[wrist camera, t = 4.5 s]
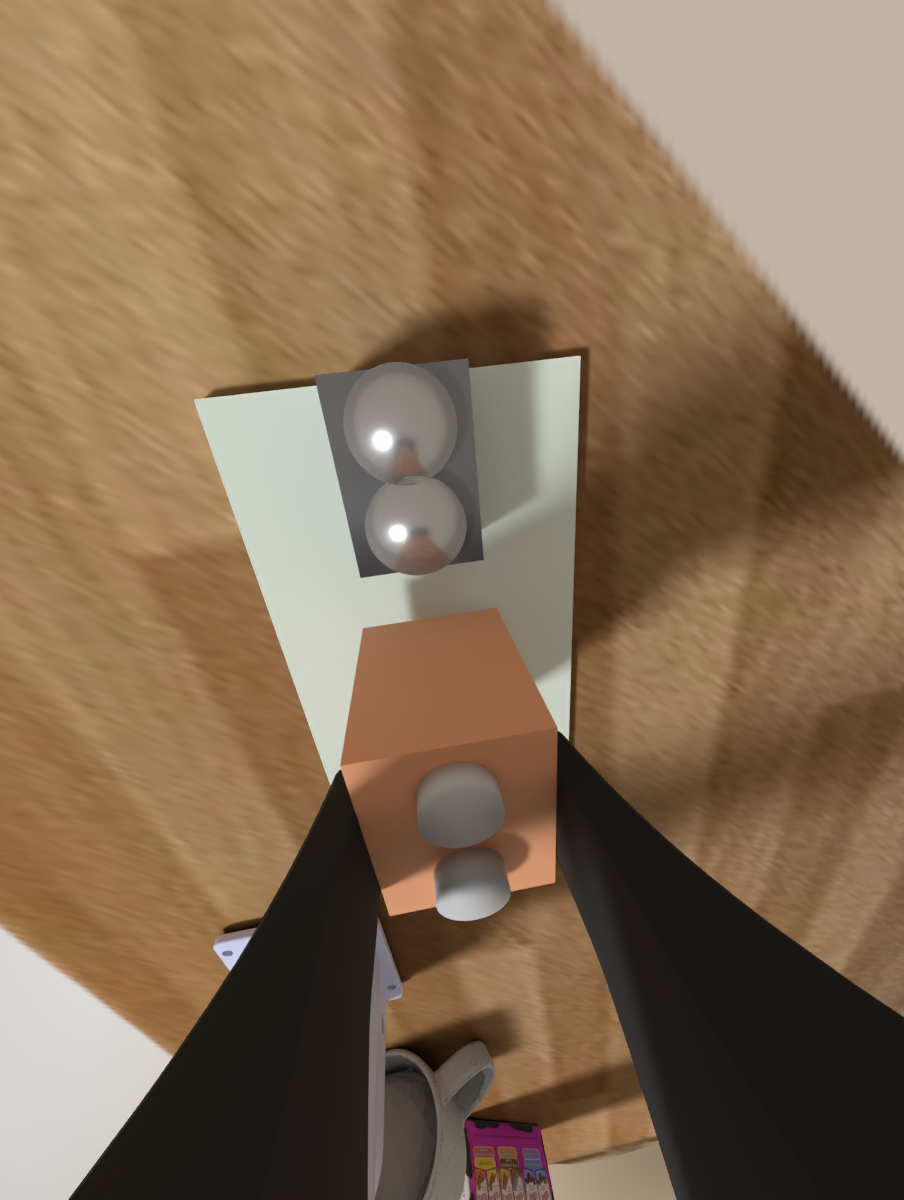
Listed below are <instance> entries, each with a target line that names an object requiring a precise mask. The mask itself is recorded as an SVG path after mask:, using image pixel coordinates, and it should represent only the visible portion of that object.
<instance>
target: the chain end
mask: <svg viewBox="0 0 904 1200" xmlns="http://www.w3.org/2000/svg"><path fill="white" fill-rule="evenodd" d="M314 377H315V382H316V386H317V390H318V395H319V399H320V404H321V408H322V412H323V417H324V421H325V425H326V430H327V434H328V439H329V443H330V447H331V452H332V456H333V460H334V465H335V469H336V474H337V478H338V482H339V487H340V491H341V495H342V500H343V504H344V508H345V513H346V517H347V522H348V526H349V530H350V535H351V539H352V543H353V548H354V552H355V557H356V561H357V565H358V570H359V574H360V578H365V577H371V576H378V575H385V574H392V573H402V574H406V575H417V576H418V575H426V574H430V573H433V572H436V571H438V570H440V569H442V568H444V567H445V566H447V565H453V564H460V563H467V562H474V561H480V560H484V556H483V543H482V530H481V517H480V504H479V491H478V478H477V465H476V452H475V439H474V426H473V413H472V400H471V387H470V374H469V361H468V358H466V359H457V360H448V361H439V362H430V363H421V364H410V363H405V362H389V363H384V364H381V365H378V366H376V367H374V368H372V369H368V370H359V371H350V372H341V373H332V374H323V375H314Z"/></svg>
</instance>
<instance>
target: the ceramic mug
mask: <svg viewBox="0 0 904 1200" xmlns="http://www.w3.org/2000/svg"><path fill="white" fill-rule="evenodd" d="M494 1075H495V1067H494V1063H493V1061H492V1059H491V1057H490V1055H489V1053H488V1050H487V1048H486V1046H485V1044H484V1043H483V1042H482V1041H475V1042H471V1043H469V1044H467V1045H465V1046H464V1047H462V1048H461V1049H459V1050H458V1051H456V1052H455V1053H454V1054H453V1055H452V1056H451V1057H450V1058H449V1059H448V1060H447V1061H446V1062H444V1063H443V1064H442V1065H441V1066H440V1067H439V1069H438V1070H436V1071H435V1072H433V1071H432V1069H431V1068H430V1067H429V1066H428V1065H427V1064H426V1063H425V1062H424V1061H423V1060H422V1059H421V1058H420V1057H418V1056H417V1055H415V1054H414V1053H412V1052H410V1051H408V1050H405V1049H390V1050H387V1051H385V1097H384V1145H383V1160H382V1168H381V1174H380V1179H379V1183H378V1188H377V1192H376V1196H375V1199H374V1200H460V1199H461V1195H462V1191H463V1187H464V1181H465V1173H466V1158H467V1154H466V1141H465V1134H464V1128H463V1127H464V1122H465V1120H466V1119H467V1118H468V1116H469V1115H470V1114H471V1113H472V1112H473V1110H474V1109H475V1107H476V1106H477V1105H478V1104H479V1103H480V1102H481V1100H482V1099H483V1097H484V1096H485V1094H486V1093H487V1092H488V1090H489V1088H490V1086H491V1084H492V1081H493V1079H494Z"/></svg>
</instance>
